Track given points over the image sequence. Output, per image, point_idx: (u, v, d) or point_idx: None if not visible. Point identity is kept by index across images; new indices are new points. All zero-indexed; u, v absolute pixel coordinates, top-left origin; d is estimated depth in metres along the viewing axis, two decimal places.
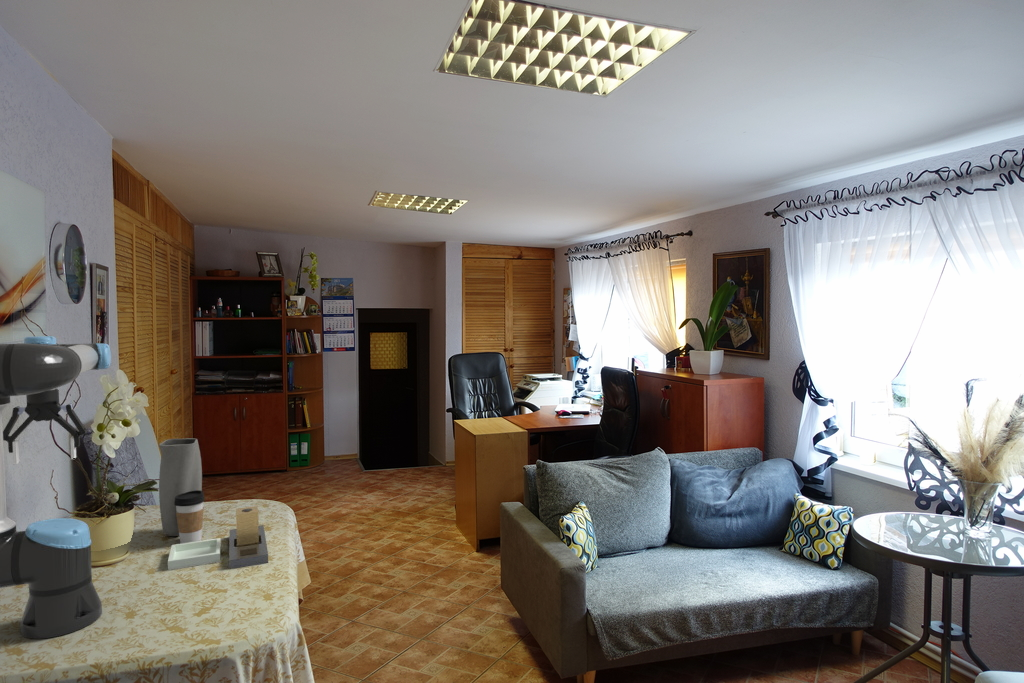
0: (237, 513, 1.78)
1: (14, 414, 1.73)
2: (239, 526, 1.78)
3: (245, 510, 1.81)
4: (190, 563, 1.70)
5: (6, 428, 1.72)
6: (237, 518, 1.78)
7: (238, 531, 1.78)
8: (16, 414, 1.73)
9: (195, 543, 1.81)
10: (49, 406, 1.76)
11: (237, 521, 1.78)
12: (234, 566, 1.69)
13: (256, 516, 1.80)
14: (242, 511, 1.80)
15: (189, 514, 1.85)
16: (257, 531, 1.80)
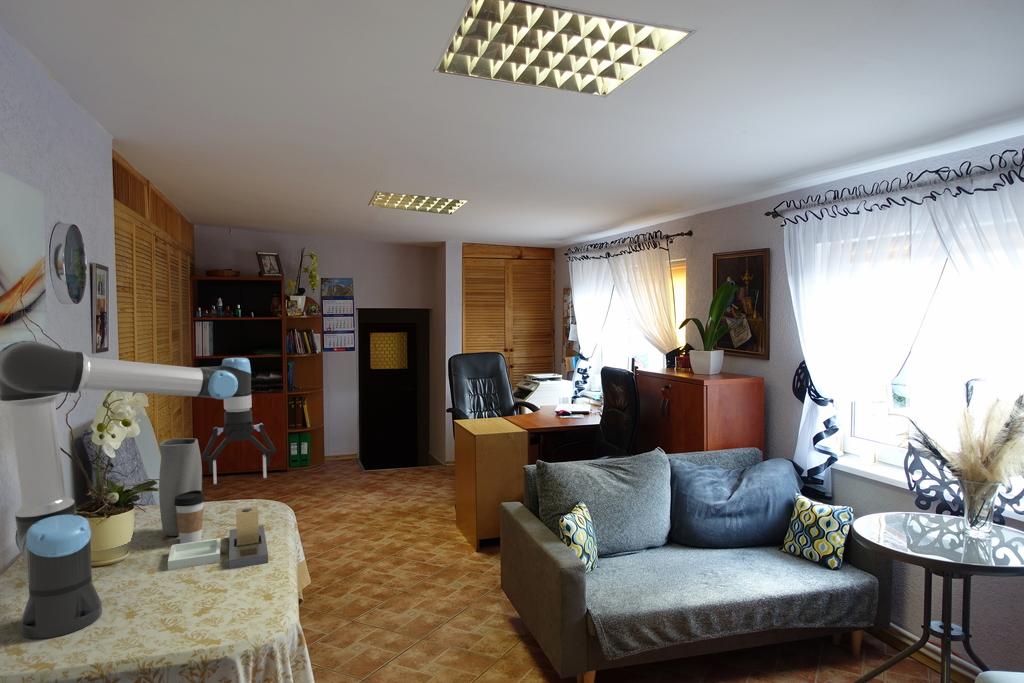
0: (237, 513, 1.78)
1: (214, 435, 1.76)
2: (239, 526, 1.78)
3: (245, 510, 1.81)
4: (190, 563, 1.70)
5: (207, 448, 1.76)
6: (237, 518, 1.78)
7: (238, 531, 1.78)
8: (216, 435, 1.76)
9: (195, 543, 1.81)
10: (245, 426, 1.80)
11: (237, 521, 1.78)
12: (234, 566, 1.69)
13: (256, 516, 1.80)
14: (242, 511, 1.80)
15: (189, 514, 1.85)
16: (257, 531, 1.80)
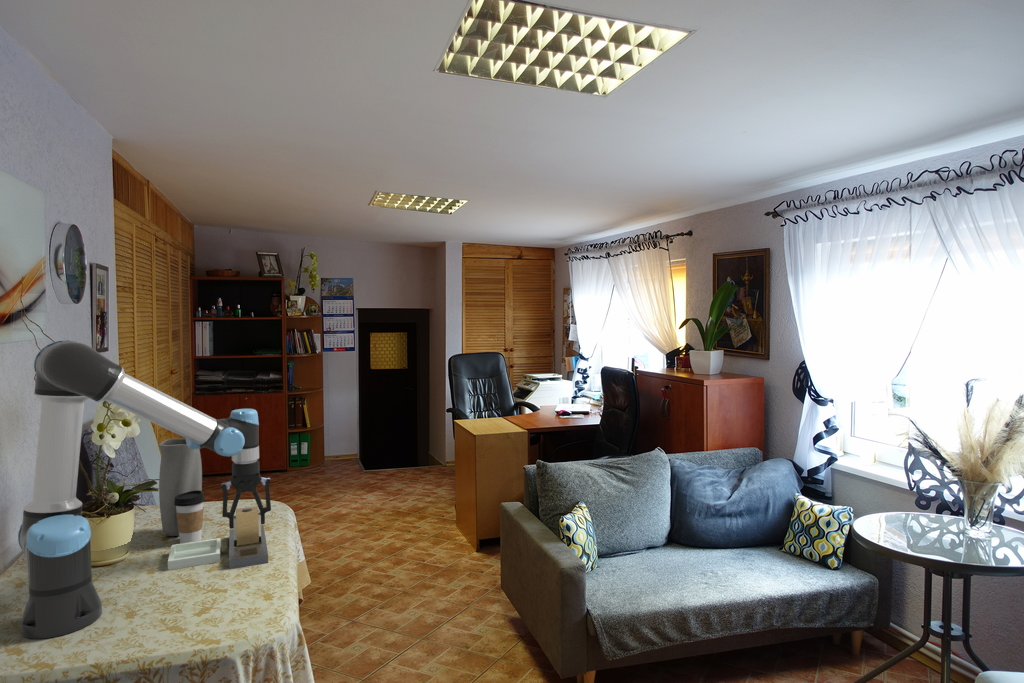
0: (237, 513, 1.78)
1: (224, 490, 1.77)
2: (239, 526, 1.78)
3: (245, 510, 1.81)
4: (190, 563, 1.70)
5: (224, 505, 1.78)
6: (237, 518, 1.78)
7: (238, 531, 1.78)
8: (226, 490, 1.78)
9: (195, 543, 1.81)
10: (253, 476, 1.81)
11: (237, 521, 1.78)
12: (234, 566, 1.69)
13: (256, 516, 1.80)
14: (242, 511, 1.80)
15: (189, 514, 1.85)
16: (257, 531, 1.80)
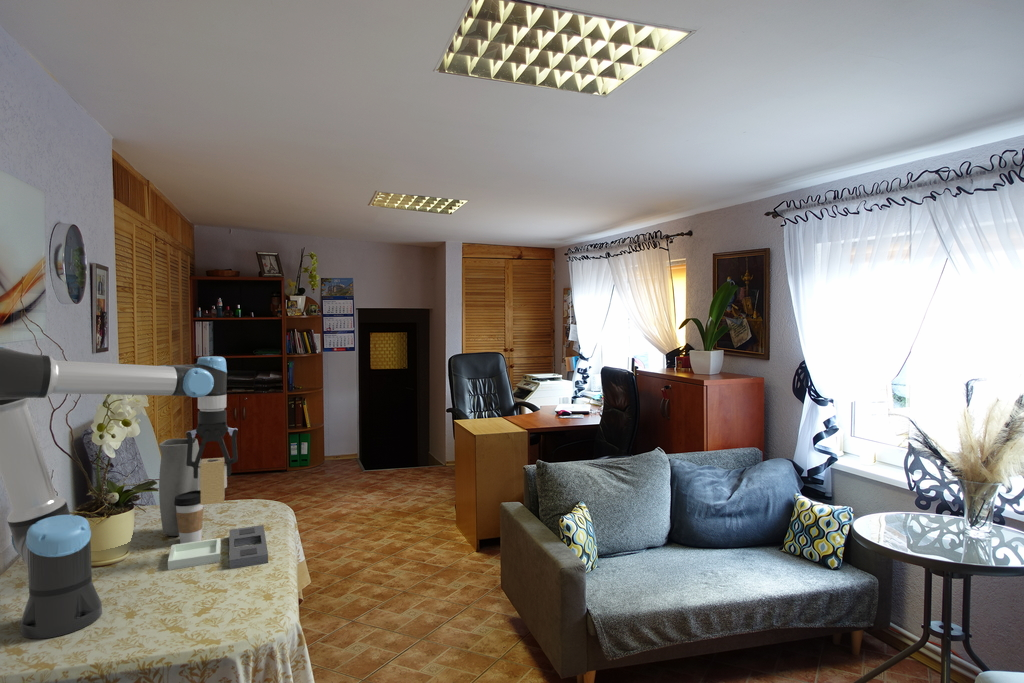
0: (202, 462, 1.74)
1: (189, 438, 1.73)
2: (203, 475, 1.73)
3: (211, 460, 1.76)
4: (190, 563, 1.70)
5: (188, 453, 1.73)
6: (201, 467, 1.73)
7: (202, 480, 1.73)
8: (191, 438, 1.73)
9: (195, 543, 1.81)
10: (220, 425, 1.76)
11: (201, 470, 1.73)
12: (234, 566, 1.69)
13: (222, 466, 1.75)
14: (207, 461, 1.75)
15: (189, 514, 1.85)
16: (222, 482, 1.75)
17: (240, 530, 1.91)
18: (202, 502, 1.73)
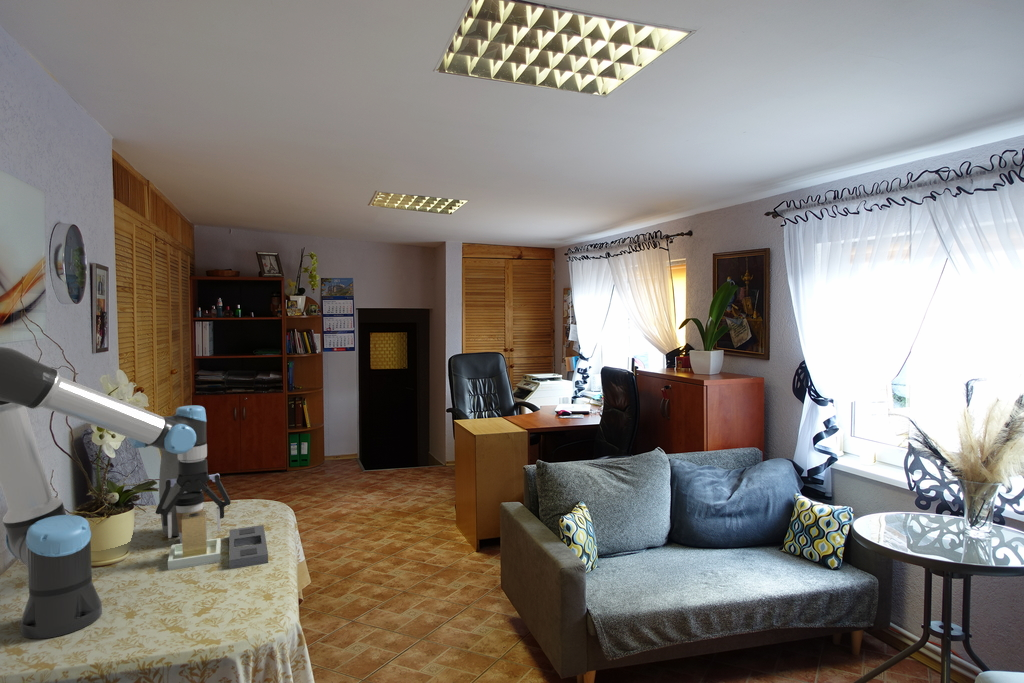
0: (183, 518, 1.73)
1: (167, 487, 1.71)
2: (184, 531, 1.72)
3: (192, 515, 1.75)
4: (190, 563, 1.70)
5: (161, 501, 1.71)
6: (183, 523, 1.72)
7: (184, 537, 1.72)
8: (169, 487, 1.71)
9: None
10: (199, 476, 1.75)
11: (183, 526, 1.72)
12: (234, 566, 1.69)
13: (203, 521, 1.74)
14: (189, 516, 1.74)
15: None
16: (204, 536, 1.74)
17: (240, 530, 1.91)
18: None
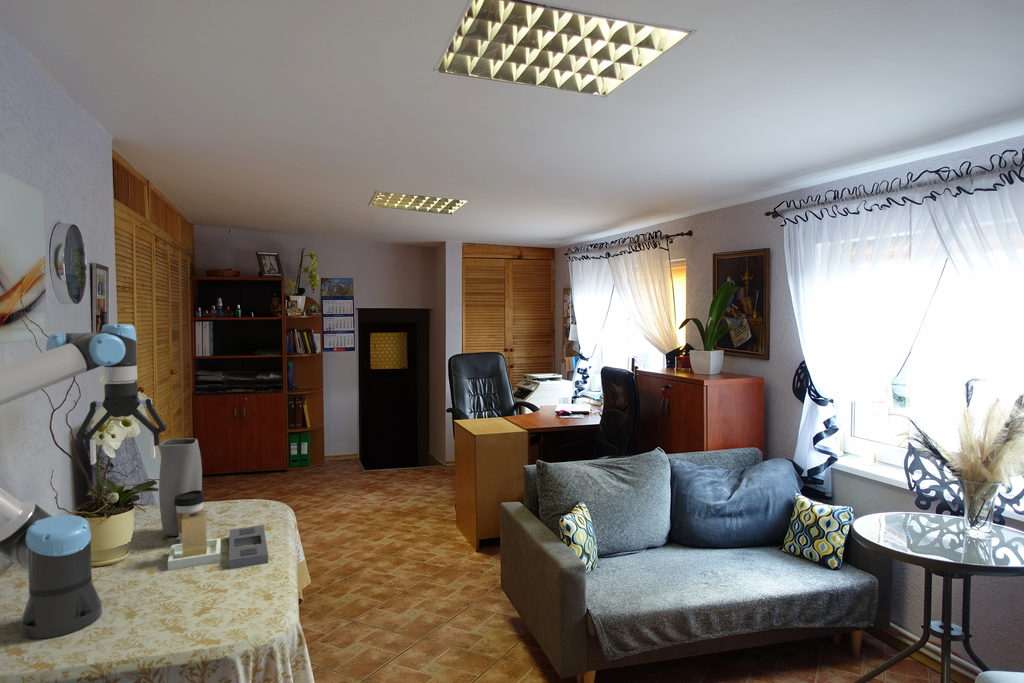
0: (183, 518, 1.73)
1: (92, 409, 1.58)
2: (184, 531, 1.72)
3: (192, 515, 1.75)
4: (190, 563, 1.70)
5: (83, 424, 1.57)
6: (183, 523, 1.72)
7: (184, 537, 1.72)
8: (94, 409, 1.58)
9: None
10: (128, 401, 1.61)
11: (183, 526, 1.72)
12: (234, 566, 1.69)
13: (203, 521, 1.74)
14: (189, 516, 1.74)
15: None
16: (204, 536, 1.74)
17: (240, 530, 1.91)
18: None
